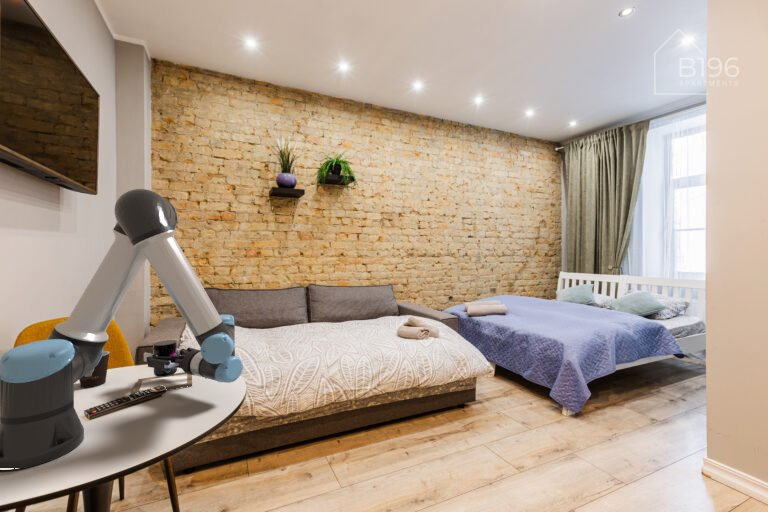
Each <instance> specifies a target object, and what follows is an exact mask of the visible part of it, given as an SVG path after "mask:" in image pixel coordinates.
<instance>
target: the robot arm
mask: <svg viewBox="0 0 768 512" xmlns="http://www.w3.org/2000/svg"><path fill="white" fill-rule="evenodd" d="M114 216H115V219H116V221H117V222H116V224H115V226H114V227H113V229H112V231H113V234H114V236H115V239H114V241H113V243H112V244H111V245H110V247H109V249H108V251H107V253H106V254H105V256H104V257H103V260H102V261H101V262H100V265H99V266H98V268H97V269H96V271H95V272H94V274H93V276H92V277H91V279H90V280H89V283H88V284H87V286H86V288H85V289H84V290H83V291H84V292H83V293H82V294H81V297H80V298H79V300H78V301H77V303H76V304H75V306H74V308H73V310H72V312H71V313H70V314H69V317H68V318H67V320H65V321H62V322H60V323H57V324H55V326H54V327H53V329H52V331H51V333H50V334H49V336H48V337H47V339H42V340H37V341H36V340H35V341H32V342H28V343H26V344H21V345H18V346H16V347H13V348H10V349H9V350H8V351H6V352H4V353H3V355H2V356H1V357H0V468H14V469H15V468H23V469H26V468H25V467H27V468H31V467H34V466H38V465H41V464H44V463H47V462H50V461H53V460H56V459H58V458H60V457H61V456H64V455H66V454H67V453H70V452H72V451H74V450H75V449H76V448H78V447H79V446H80V445H81V444H82V443H83V442H84V440H85V427H84V425H83V423H82V421H81V420H80V417H79V416H78V414H77V413H78V412H77V411H76V409H75V384H76V382H78V381H79V379H80V378H82V377H83V376H84V375H86V374H88V373H89V372H90V371H92V369H94V368H95V367H96V366H97V364H98V363H99V361H100V359H101V357H102V354H103V351H104V347H105V345H106V344H107V342H108V341H109V337H110V336H109V335H108V333H107V329H108V327H109V325H110V324H111V322H112V320H113V319H114V317H115V315H116V313H117V312H118V311H119V308H120V307H121V305H122V303H123V301H124V300H125V297H127V294H128V292H129V290H130V289H131V288H132V285H133V284H134V282H135V280H136V279H137V277H138V275H139V274H140V272H141V270H142V268H143V266H144V265H145V263H146V261H148V262H149V264H150V266H151V268H152V269H153V271H154V272H155V274H156V276H157V277H158V279H159V281H160V282H161V284H162V286H163V287H164V289H165V291H166V292H167V294H168V296H169V297H170V298H171V301H172V302H173V304H174V305H175V307H176V309H177V311H178V312H179V313H180V315H181V317H182V319H183V320H184V322H185V323H186V325H187V327H188V329H189V330H190V332H191V334H192V335H193V337H194V338H195V340H196V342H197V344H198V346H199V347H200V349H196V348H193V347H187V348H182V349H180V348H177V355H175V356H172V357H163V356H158V355H156V354H154V353H150V352H144V353H143V362H146V363H147V367H148V368H153V369H154V368H158V369H164V370H165V371H169V370H170V369H171V367H176V368H177V369H178V368H179V369H181V370H182V371H183V372H185V373H187V374H191V375H192V376H196V377H201V378H204V379H206V380H207V379H208V380H212V381H215V382H219V383H227V384H229V383H233V382H235V381H236V380H238V379H239V378H240V376H241V375H242V373H243V369H244V363H243V361H242V359H241V358H240V357H238V356H236V351H235V350H236V349H235V342H236V341H235V336H236V334H235V331H236V329H235V328H236V327H235V326H236V324H235V317H234V316H233V315H232V314H219V312H218V310H217V309H216V306H215V305H214V304H213V302H212V300H211V299H210V297H209V295H208V294H207V291H206V290H205V289H204V288H205V287H204V286H203V285H202V283H201V281H200V279H199V277H198V276H197V274H196V271H194V269H193V267H192V265H191V264H190V262H189V260H188V258H187V257H186V256H185V255H186V254H184V252H183V250H182V248H181V247H180V245H179V244H178V242H177V240H176V238H175V235H176V227H177V224H178V219H179V218H178V212H177V210H176V208H175V206H174V205H173V204H172V203H171V201H170V200H168V199H166V198H164V197H163V196H162V195H160V194H159V193H157V192H156V191H153V190H151V189H147V188H146V189H145V188H135V189H131V190H128V191H126V192H124V193H123V194H122V195H120V196H119V198H118V199H117V200H116V202H115V204H114Z"/></svg>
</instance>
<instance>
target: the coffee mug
mask: <svg viewBox="0 0 768 512" xmlns="http://www.w3.org/2000/svg"><path fill="white" fill-rule="evenodd" d="M110 353H111V352H110V351H107V350H103V354H102V357H101V359H100V361H99V363H98V364H97V366H96V367H95V368H94V369H92V371H90V372H89V373H88V374H86V375H84V376H83V377H82V378H80V379H79V380H78V381H79V385H80V388H81V389H92V388H97V387H99V386H102V385H105V384H106V382H107V375H108V374H107V373H108V365H109V359H110Z"/></svg>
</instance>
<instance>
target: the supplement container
mask: <svg viewBox="0 0 768 512" xmlns="http://www.w3.org/2000/svg"><path fill="white" fill-rule="evenodd" d="M177 349H178V341H177V340H174V339H168V340H160V341H156V342H153V344H152V350H153V354H156V355H158V356H163V357H172V356H175V355H177ZM177 371H178V368H176V367H171V369H170V370H169V371H165V370H164V369H158V368H153V375H154V377H156V376H159V377H162V376H168V375H172V374H176V373H177Z"/></svg>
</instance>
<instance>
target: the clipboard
mask: <svg viewBox="0 0 768 512" xmlns="http://www.w3.org/2000/svg"><path fill="white" fill-rule="evenodd" d="M160 385H163V386H165V387H166V389H167V390H168V391H171V390H170V389H174V390H177V389H176V388H180V387H186V388H188V387H187V386H192V387H193V375H191V374H187V373H185V372H184V371H183V372H179V373H178V372H175V373H174V374H172V375H168V376H162V377H159V376H152V377H150V376H149V377H143V378H138V380H137V382H136V385H135V387H134V388H133V391H132V394H135V393H137V392H140V391H144V390H147V389H150V388H154V387H157V386H160ZM180 389H181V388H180Z"/></svg>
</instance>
